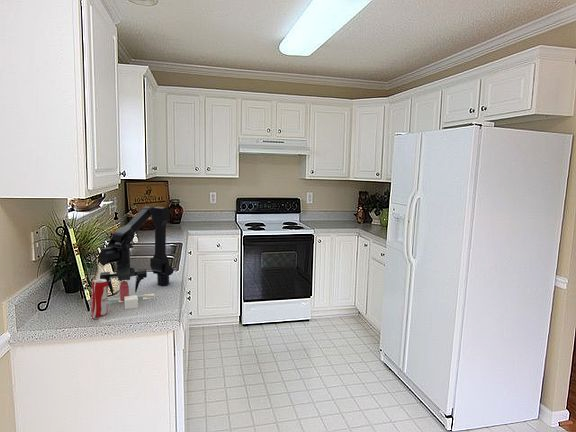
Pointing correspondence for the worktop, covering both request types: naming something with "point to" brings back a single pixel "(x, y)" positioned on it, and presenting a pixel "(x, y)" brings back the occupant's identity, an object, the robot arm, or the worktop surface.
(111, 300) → the board
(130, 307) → the die
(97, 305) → the beverage can
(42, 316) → the worktop surface
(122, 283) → the red cylinder
